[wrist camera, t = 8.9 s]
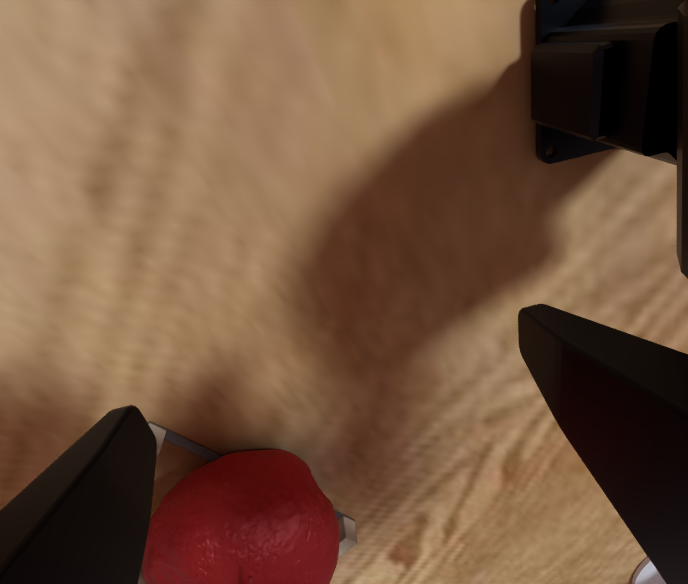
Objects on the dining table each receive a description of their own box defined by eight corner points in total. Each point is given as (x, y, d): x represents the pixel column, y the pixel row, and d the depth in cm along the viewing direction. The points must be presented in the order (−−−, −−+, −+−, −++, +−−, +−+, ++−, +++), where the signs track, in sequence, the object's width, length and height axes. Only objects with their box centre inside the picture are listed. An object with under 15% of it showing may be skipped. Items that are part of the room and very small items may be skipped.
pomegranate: (137, 445, 24) (61, 647, 16) (318, 411, 24) (330, 595, 16) (196, 547, 29) (159, 740, 21) (345, 519, 29) (365, 700, 21)
